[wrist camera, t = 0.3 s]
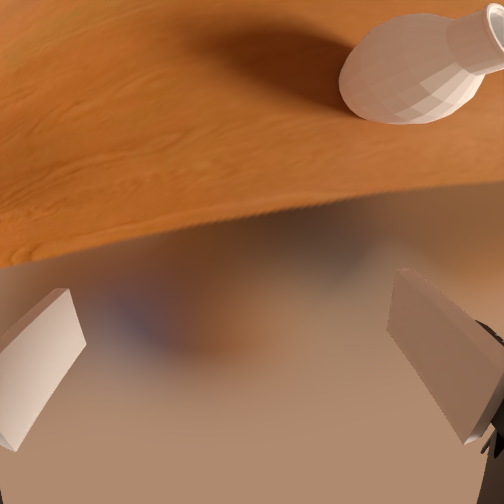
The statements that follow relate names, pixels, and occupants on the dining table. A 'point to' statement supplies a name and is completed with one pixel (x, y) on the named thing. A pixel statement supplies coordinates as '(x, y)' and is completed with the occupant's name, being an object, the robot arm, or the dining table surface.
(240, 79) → the dining table surface
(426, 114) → the bottle
